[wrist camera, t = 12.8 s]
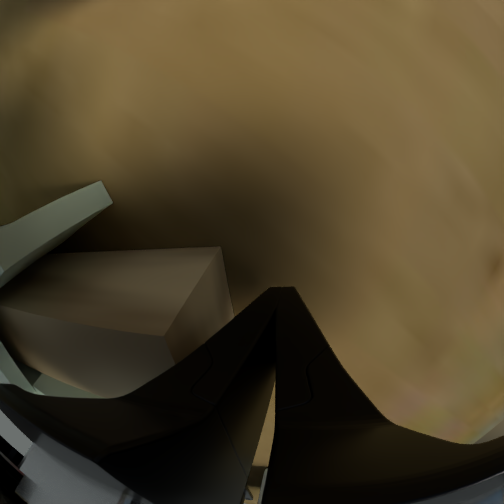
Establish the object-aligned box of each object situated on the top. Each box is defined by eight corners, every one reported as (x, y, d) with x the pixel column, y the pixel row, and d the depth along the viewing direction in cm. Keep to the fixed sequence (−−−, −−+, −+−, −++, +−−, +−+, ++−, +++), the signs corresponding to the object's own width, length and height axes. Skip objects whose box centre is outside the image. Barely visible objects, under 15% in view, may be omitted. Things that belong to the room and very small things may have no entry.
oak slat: (236, 327, 11) (202, 422, 7) (47, 307, 14) (2, 352, 10) (220, 246, 10) (163, 336, 6) (25, 255, 12) (-29, 296, 8)
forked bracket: (166, 357, 13) (111, 460, 7) (33, 329, 15) (-15, 381, 10) (107, 178, 9) (-32, 251, 4) (-14, 217, 12) (-81, 259, 6)
